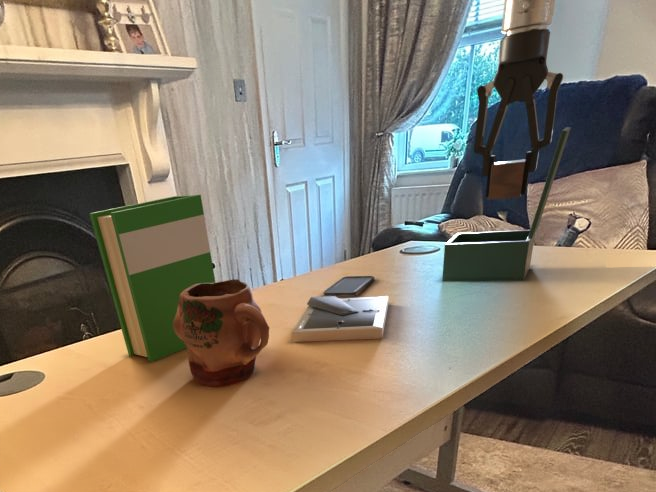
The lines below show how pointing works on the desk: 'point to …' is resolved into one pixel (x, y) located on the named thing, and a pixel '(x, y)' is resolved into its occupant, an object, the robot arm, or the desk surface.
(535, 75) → the robot arm
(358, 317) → the picture frame
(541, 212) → the lid
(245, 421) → the desk surface
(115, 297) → the hardback book
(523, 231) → the box
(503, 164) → the block
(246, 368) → the terracotta mug
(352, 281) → the phone
